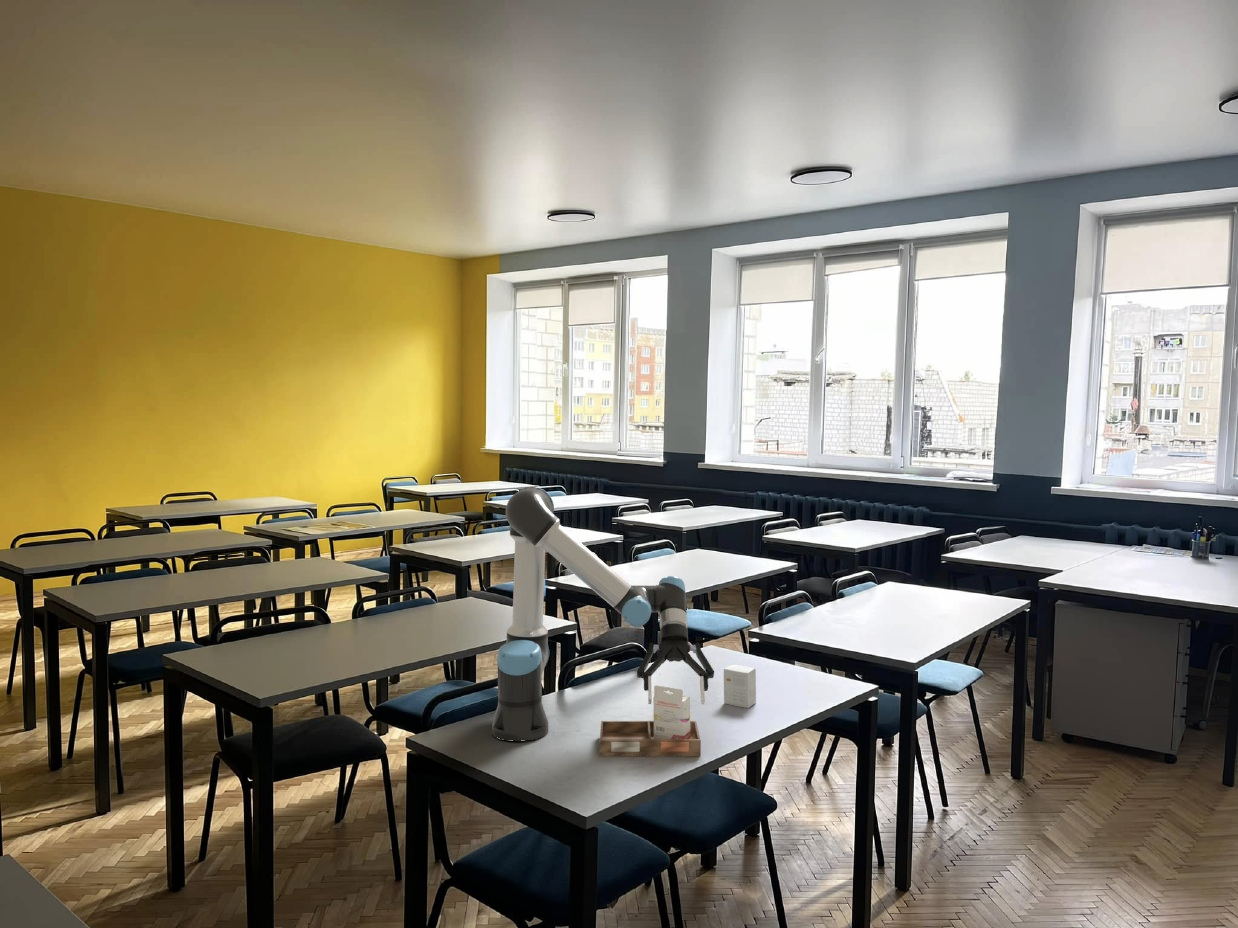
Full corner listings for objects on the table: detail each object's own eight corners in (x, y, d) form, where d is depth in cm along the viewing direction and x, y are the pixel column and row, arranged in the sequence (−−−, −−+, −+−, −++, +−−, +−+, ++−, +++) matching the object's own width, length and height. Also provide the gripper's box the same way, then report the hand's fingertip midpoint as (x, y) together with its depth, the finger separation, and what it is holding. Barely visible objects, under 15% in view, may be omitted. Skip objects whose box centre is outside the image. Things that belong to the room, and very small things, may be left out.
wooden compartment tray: (599, 756, 208) (599, 741, 208) (601, 735, 222) (601, 720, 222) (700, 756, 208) (700, 740, 208) (696, 735, 222) (695, 720, 222)
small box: (756, 703, 247) (756, 668, 246) (748, 708, 242) (748, 672, 242) (731, 698, 251) (731, 663, 251) (723, 703, 247) (723, 668, 246)
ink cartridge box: (691, 740, 216) (691, 684, 215) (683, 747, 211) (683, 690, 211) (660, 735, 220) (660, 679, 219) (652, 741, 215) (652, 685, 215)
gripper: (718, 636, 232) (723, 708, 218) (628, 635, 232) (627, 707, 218) (720, 621, 226) (726, 695, 212) (628, 621, 227) (627, 694, 213)
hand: (676, 701), depth 215 cm, fingers open, 13 cm apart
